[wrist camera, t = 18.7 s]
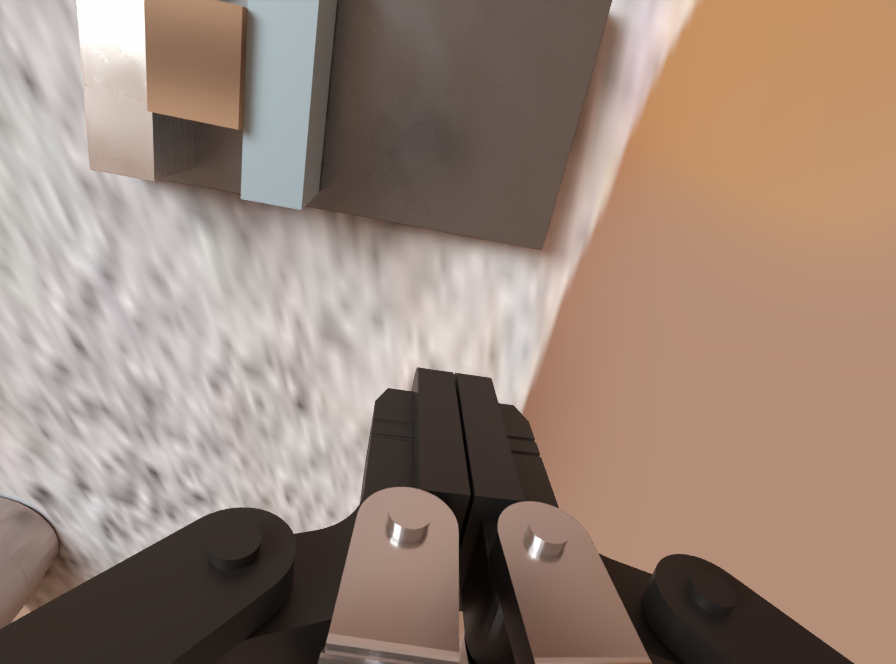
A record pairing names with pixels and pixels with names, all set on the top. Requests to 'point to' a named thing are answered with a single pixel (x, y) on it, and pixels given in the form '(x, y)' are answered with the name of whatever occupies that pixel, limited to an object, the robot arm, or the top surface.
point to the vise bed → (385, 111)
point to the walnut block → (196, 60)
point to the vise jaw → (286, 99)
